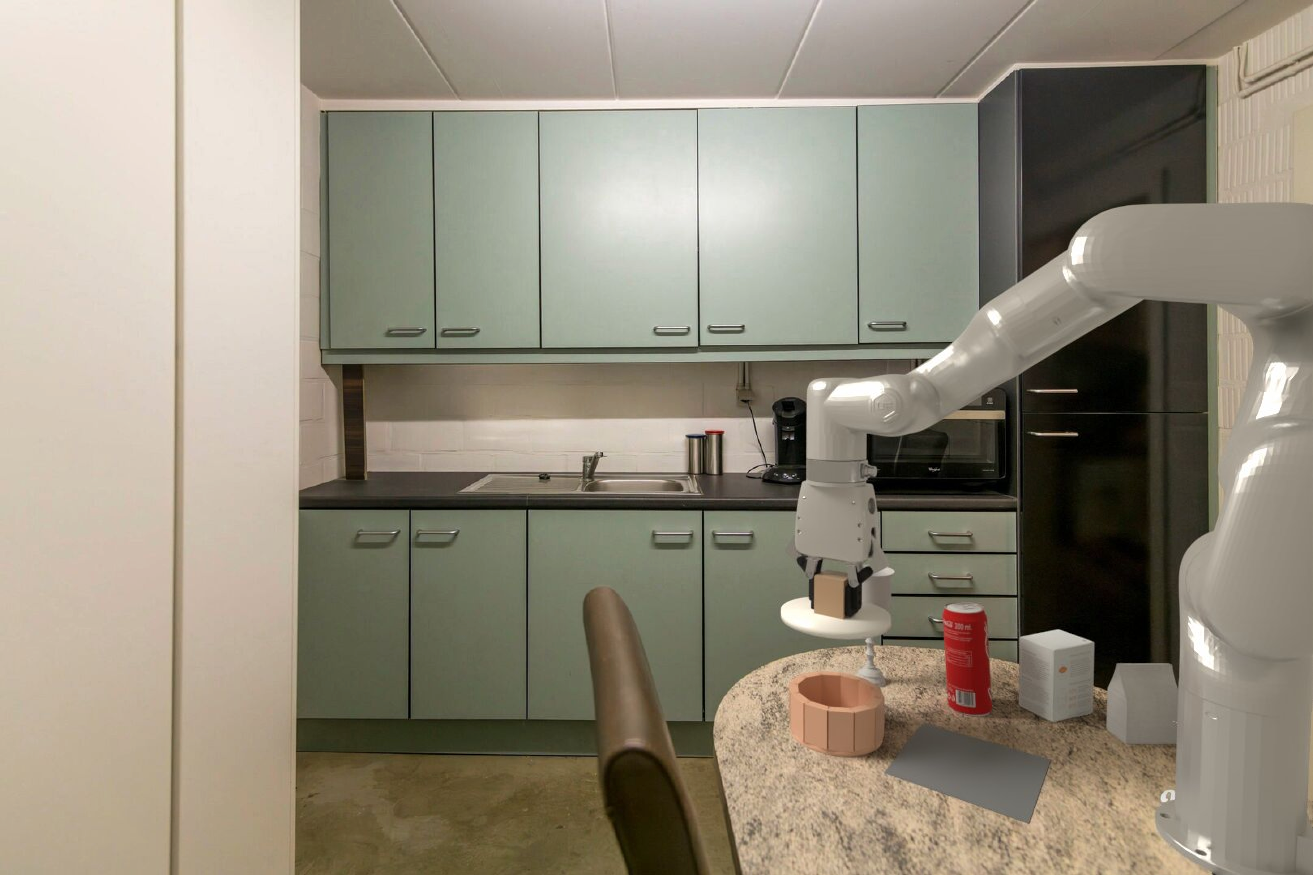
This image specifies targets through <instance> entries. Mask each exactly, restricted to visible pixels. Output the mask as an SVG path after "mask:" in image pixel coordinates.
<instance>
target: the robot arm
mask: <svg viewBox="0 0 1313 875" xmlns="http://www.w3.org/2000/svg"><path fill="white" fill-rule="evenodd" d="M1143 300H1150V301H1151V300H1152V301H1160V302H1161V301H1162V302H1173V303H1174V302H1175V303H1176V302H1178V303H1189V304H1190V303H1192V304H1206V305H1207V304H1208V305H1217V307H1219V308H1221V309H1222V310H1223V311H1225V312H1226V313H1229V314H1230V315H1232V316H1233V317H1235V318H1237V319H1238V320H1239V321H1241V322H1242V323H1243V324H1244V325H1245V327H1246V328H1247V330H1248V332H1249V333H1250V336H1251V340H1252V346H1253V347H1252V349H1253V351H1252V360H1251V363H1250V364H1251V365H1250V368H1249V372H1248V375H1247V380H1246V383H1245V389H1244V392H1243V395H1242V398H1241V400H1240V404H1239V407H1238V410H1237V413H1236V416H1235V420H1234V422H1233V425H1232V428H1231V431H1230V433H1229V436H1228V439H1227V441H1226V443H1225V446H1224V448H1223V450H1222V452H1221V456H1220V458H1219V461H1218V465H1217V466H1218V467H1217V475H1218V480H1219V484H1220V486H1221V487H1222V490H1223V491H1224V497H1223V500H1222V503H1221V506H1220V509H1219V510H1220V511H1219V513H1218V516H1217V520H1216V523H1215V526H1214V530H1212V531H1210V532H1206V533H1205V534H1203V535H1202V536H1200V537H1198V538H1197V539H1195V541H1193V543H1191V545H1190V546H1189V547H1188V548H1187V549H1186V551H1185V552H1184V554H1183V556H1182V558H1181V562H1180V566H1179V572H1178V573H1179V574H1178V599H1179V600H1178V601H1179V670H1178V671H1179V673H1178V674H1179V676H1178V677H1179V678H1178V685H1177V688H1178V718H1177V744H1176V751H1175V752H1176V753H1175V755H1176V756H1175V783H1174V784H1175V786H1174V789H1175V790H1174V799H1171V800H1168V801H1165V802H1163V803H1161V804H1160V805H1159V806H1157V808H1156V809H1155V812H1154V824H1155V828H1156V830H1157V832H1158V833H1159V835H1160V836H1161V838H1162V839H1163V840H1164V841H1165V842H1166V843H1167V844H1168V845H1169V846H1170V847H1171V848H1172V849H1173V850H1175V851H1176V852H1177V853H1178V854H1180V855H1182V856H1183V857H1184V858H1186V859H1187V860H1189V861H1191V863H1194V864H1195V865H1197V866H1199V867H1201V868H1203V869H1205V870H1206V871H1208V872H1210V873H1212V874H1214V875H1313V826H1312V823H1311V820H1310V816H1309V814H1308V803H1309V802H1308V801H1309V798H1308V797H1309V776H1310V757H1311V756H1310V754H1311V753H1310V751H1311V731H1312V730H1311V729H1312V727H1311V726H1312V712H1313V204H1310V203H1306V202H1293V201H1291V202H1290V201H1289V202H1288V201H1286V202H1285V201H1283V202H1282V201H1279V202H1277V201H1276V202H1275V201H1270V202H1269V201H1268V202H1266V201H1265V202H1225V203H1223V202H1221V203H1219V202H1217V203H1216V202H1215V203H1212V202H1210V203H1201V202H1200V203H1151V204H1150V203H1147V204H1131V205H1125V206H1124V205H1123V206H1118V207H1114V208H1110V209H1108V210H1104V211H1102V212H1100V213H1098V214H1096V215H1094V216H1093V217H1091V218H1090V219H1088V220H1087V221H1086V222H1084V223H1083V224H1082V225H1081V226H1080V228H1078V230H1076V232H1075V234H1074V235H1073V237H1072V238H1071V240H1070V242H1069V245H1068V248H1067V250H1065V251H1063V252H1062V253H1060V254H1059V255H1058V256H1056V257H1054V258H1053V259H1051V260H1050V261H1048V262H1047V263H1046V264H1044V265H1043V266H1041V267H1039V268H1038V269H1037V270H1035V271H1033V272H1032V273H1031V274H1029V275H1028V276H1026V277H1025V278H1023V279H1022V280H1020V281H1018V282H1017V283H1016V284H1014V285H1012V286H1011V287H1009V288H1008V289H1006V290H1005V291H1004V292H1003V293H1001V294H999V295H997V296H996V297H994V298H993V299H991V300H990V301H988V302H987V303H985V305H983V306H982V307H981V308H980V309H979V310H977V312H976V313H975V315H974V316H973V317H972V319H971V321H970V322H969V323H968V325H967V326H966V328H965V329H964V330H963V332H962V333H961V334H960V335H959V336H958V337H957V338H956V339H954V341H953V342H952V343H950V344H949V345H948V346H947V347H945V348H944V349H943V350H941V351H939V353H937V354H935V355H934V356H933V357H931V358H930V359H928V360H927V361H925V362H924V363H922V364H920V365H919V366H918V367H916V368H914V369H913V370H911V371H909V372H908V373H906V374H898V373H893V374H892V373H889V374H882V375H875V376H870V377H862V378H856V377H824V378H823V377H822V378H821V377H820V378H817V379H816V378H815V379H813V380H812V381H810V382H809V384H808V386H807V389H806V457H805V458H806V461H805V462H806V463H805V464H806V466H805V467H806V470H805V471H806V473H805V474H806V478H805V479H806V480H804V481H802V482H801V485H800V486H801V487H800V489H799V496H798V500H797V507H796V516H795V528H794V535H793V537H792V538H791V540H790V541H789V543H788V545H787V546H786V547H785V553H786V554H787V555H788V556H789V557H791V558H792V560H794V561H796V563H797V565H798V566H799V567H800V568H801V570H802V571H803V572H804V576H805V578H806V579H807V580H808V597H809V600H811V609H814V576H815V575H817V574H819V573H821V572H823V569H824V564H825V560H828V561H836V562H842V563H845V569H846V573H847V575H848V585H847V586H846V587H845V615H846V617H851V616H853V615H854V614H856V613H857V612H858V611H859V610H860V609H861V606H862V583H863V582H865V581H866V580H867V579H868V578H869V577H871V576H872V575H873V574H875V573H877V572H879V571H881V570H883V569H885V568H887V567H888V568H889V567H890V565H891V564H890V561H889V559H888V557H887V556H886V554H885V552H884V551H883V549H882V548H881V546H880V526H879V516H878V515H879V514H878V508H877V501H876V494H875V489H874V485H873V484H872V483H867V481H868V479H869V478H871V477H873V478H874V477H877V473H878V468H877V466H875V465H871V464H869V461H868V459H867V437H868V436H867V434H868V435H869V434H870V435H874V436H875V435H876V436H882V437H892V438H893V437H901V436H907V435H909V434H915V433H919V432H921V431H925V430H926V429H928V428H930V427H932V426H933V425H935V424H937V423H939V422H940V421H942V420H944V419H945V418H947V417H949V416H950V415H952V414H953V413H955V412H957V411H959V410H960V409H962V408H964V407H966V406H967V405H969V404H971V403H973V402H974V401H975V400H977V399H979V398H980V397H982V396H983V395H985V394H987V393H988V392H990V391H991V390H993V389H995V388H996V387H998V386H1000V385H1001V384H1004V383H1006V382H1007V381H1008V382H1009V381H1010V380H1011V379H1012V380H1013V379H1014V378H1015V377H1018V376H1019V375H1021V374H1022V373H1023V372H1025V371H1027V370H1028V369H1030V368H1031V367H1033V366H1034V365H1036V364H1038V363H1039V362H1041V361H1044V359H1046V358H1048V357H1049V356H1051V355H1053V354H1054V353H1056V352H1058V351H1060V350H1061V349H1062V348H1064V347H1065V346H1067V345H1069V344H1071V343H1073V342H1074V341H1076V340H1077V339H1079V338H1081V337H1083V336H1084V335H1086V334H1088V333H1089V332H1092V331H1093V330H1094V329H1097V327H1100V326H1102V325H1103V324H1105V323H1107V322H1109V321H1110V320H1112V319H1114V318H1115V317H1117V316H1119V315H1121V314H1123V313H1124V312H1125V311H1127V310H1129V309H1130V308H1132V307H1133V306H1135V305H1137V304H1139V303H1140V302H1142V301H1143ZM870 558H871V559H872V562H871V564H867V565H868V566H866V567H865V568H864V565H865V564H864V563H866V562H867V561H868V559H870Z"/></svg>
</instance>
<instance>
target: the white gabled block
mask: <svg viewBox="0 0 1313 875" xmlns="http://www.w3.org/2000/svg"><path fill="white" fill-rule="evenodd" d="M1106 695H1107V696H1106V697H1107V701H1106V730H1107V731H1108V732H1109V733H1111V734H1112V735H1113V736H1115V737H1116V738H1118V740H1120V741H1122V742H1123V743H1124V744H1125V745H1177V723H1176V722H1177V718H1178V685H1177V683H1176V678H1175V674H1174V670H1173V664H1170V663H1169V662H1166V663H1161V662H1160V663H1159V662H1157V663H1156V662H1155V663H1152V662H1151V663H1150V662H1149V663H1148V662H1147V663H1142V662H1141V663H1139V662H1138V663H1136V662H1135V663H1131V662H1130V663H1123V662H1122V663H1121V662H1120V663H1116V666H1115V669H1114V673H1113V675H1112V678H1111V680H1110V683H1109V684H1108V686H1107V694H1106ZM1173 721H1175V722H1173Z"/></svg>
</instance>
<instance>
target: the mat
mask: <svg viewBox="0 0 1313 875" xmlns="http://www.w3.org/2000/svg"><path fill="white" fill-rule="evenodd" d="M1050 762H1051V759H1050V758H1046V757H1043V756H1039V755H1036V754H1034V753H1031V752H1026V751H1023V750H1020V749H1016V748H1013V747H1010V746H1006V745H1002V744H999V743H995V742H991V741H987V740H985V739H982V738H978V737H975V736H971V735H968V734H965V733H961V732H958V731H954V730H951V729H947V728H943V727H940V726H937V725H934V724H930V723H926V722H922V723H921V725H920V726H919V727H918V729H917V730H916V731H915V732H914V733H913V735H912V736H911V737H910V738H909V739H908V742H907V743H906V744H905V745H904V746H903V748H902V749H901V750H900V751H899V753H898V754H897V756H896V757H895V758H894V759H893V761H891V763H890V764H889V766H888V767H887V769H886V770H885V771H884V774H886V775H888V776H891V777H894V778H898V779H900V780H903V781H906V782H908V783H911V784H914V785H917V786H920V787H923V788H926V789H929V790H932V791H934V792H937V793H940V794H943V795H946V796H949V797H952V798H955V799H956V800H957V799H958V800H960V801H962V802H966V803H968V804H972V805H974V806H977V807H980V808H982V809H983V808H984V809H986V810H988V811H991V812H994V813H997V814H1000V815H1003V816H1006V817H1009V818H1012V819H1014V820H1017V821H1019V822H1023V823H1026V824H1030V821H1031V819H1032V815H1033V813H1034V809H1035V807H1036V804H1037V801H1038V798H1039V794H1040V792H1041V789H1042V787H1043V783H1044V781H1045V777H1046V775H1047V772H1048V769H1049V766H1050V764H1051V763H1050Z"/></svg>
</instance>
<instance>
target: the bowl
mask: <svg viewBox="0 0 1313 875" xmlns="http://www.w3.org/2000/svg"><path fill="white" fill-rule="evenodd" d="M788 727H789V728H788V729H789V733H790V735H791V736H792V738H793V739H794V740H795V741H796V742H797V743H799V744H800V745H802V746H804V747H805V748H807V749H809V750H811V751H814V752H816V753H817V752H818V753H821V754H823V755H828V756H835V757H847V758H848V757H849V758H850V757H860V756H864V755H868V754H871V753H873V752H876V750H878V749H879V748H880V747H881V746H882V743H883V741H884V740H883V739H884V737H885V696H884V694H883V692H882V688H881V687H880V688H879V687H878V686H877V685H875V684H873V683H872V682H870V681H868V680H867V679H865V678H864V679H863V678H862V677H858V676H856V675H854V674H851V673H846V672H842V671H830V670H829V671H823V670H819V671H817V670H816V671H811V672H806V673H801V674H798V675H797V676H795V677H794V678H793V679H792V680H790V681H789V682H788Z"/></svg>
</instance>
